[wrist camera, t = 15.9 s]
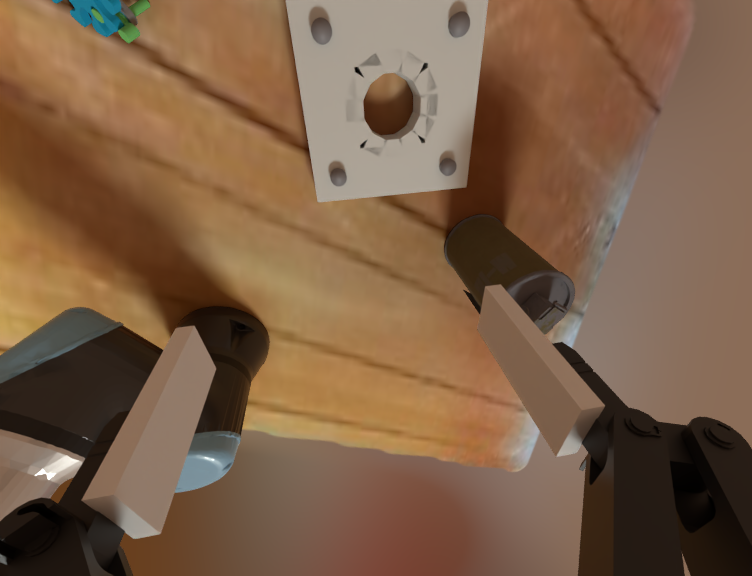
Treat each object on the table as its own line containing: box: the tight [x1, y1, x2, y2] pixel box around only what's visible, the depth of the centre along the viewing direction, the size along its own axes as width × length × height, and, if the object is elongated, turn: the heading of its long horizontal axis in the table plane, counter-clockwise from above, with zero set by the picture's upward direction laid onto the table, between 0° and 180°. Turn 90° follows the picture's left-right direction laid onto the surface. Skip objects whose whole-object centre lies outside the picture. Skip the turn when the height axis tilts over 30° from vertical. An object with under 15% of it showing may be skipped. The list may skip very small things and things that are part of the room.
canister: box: [445, 214, 575, 335], centre depth 44 cm, size 11×10×20 cm
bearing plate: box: [286, 0, 488, 202], centre depth 37 cm, size 20×20×4 cm
